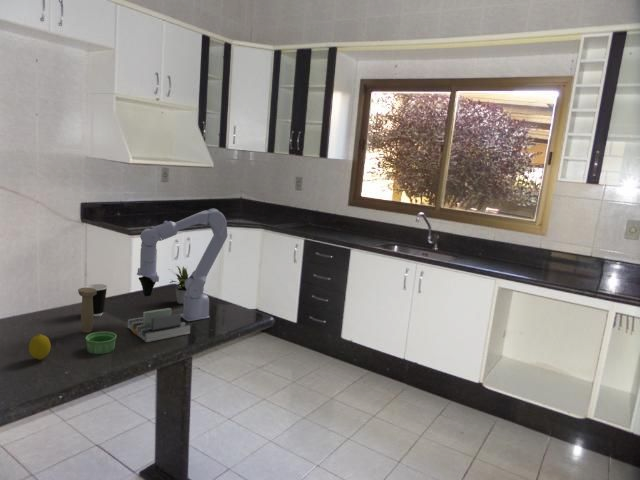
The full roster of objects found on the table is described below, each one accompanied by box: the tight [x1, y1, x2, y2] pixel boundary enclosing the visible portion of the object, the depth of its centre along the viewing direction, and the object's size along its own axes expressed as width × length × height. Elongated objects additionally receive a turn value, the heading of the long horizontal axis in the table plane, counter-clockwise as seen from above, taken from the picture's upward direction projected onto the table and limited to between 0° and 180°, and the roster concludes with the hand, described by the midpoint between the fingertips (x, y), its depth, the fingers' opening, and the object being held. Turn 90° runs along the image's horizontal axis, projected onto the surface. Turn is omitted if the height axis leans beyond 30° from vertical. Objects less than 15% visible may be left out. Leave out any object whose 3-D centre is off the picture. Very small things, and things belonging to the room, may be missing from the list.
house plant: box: [168, 265, 189, 305], centre depth 202 cm, size 14×14×16 cm
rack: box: [127, 313, 191, 343], centre depth 169 cm, size 16×16×7 cm
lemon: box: [28, 333, 52, 361], centre depth 139 cm, size 6×6×8 cm
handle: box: [77, 287, 97, 334], centre depth 162 cm, size 5×6×15 cm
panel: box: [142, 307, 173, 325], centre depth 170 cm, size 10×2×6 cm, turn 133°
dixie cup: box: [84, 283, 108, 317], centre depth 179 cm, size 8×8×11 cm
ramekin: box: [84, 331, 117, 355], centre depth 150 cm, size 9×9×4 cm
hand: (147, 295), depth 178 cm, fingers closed
